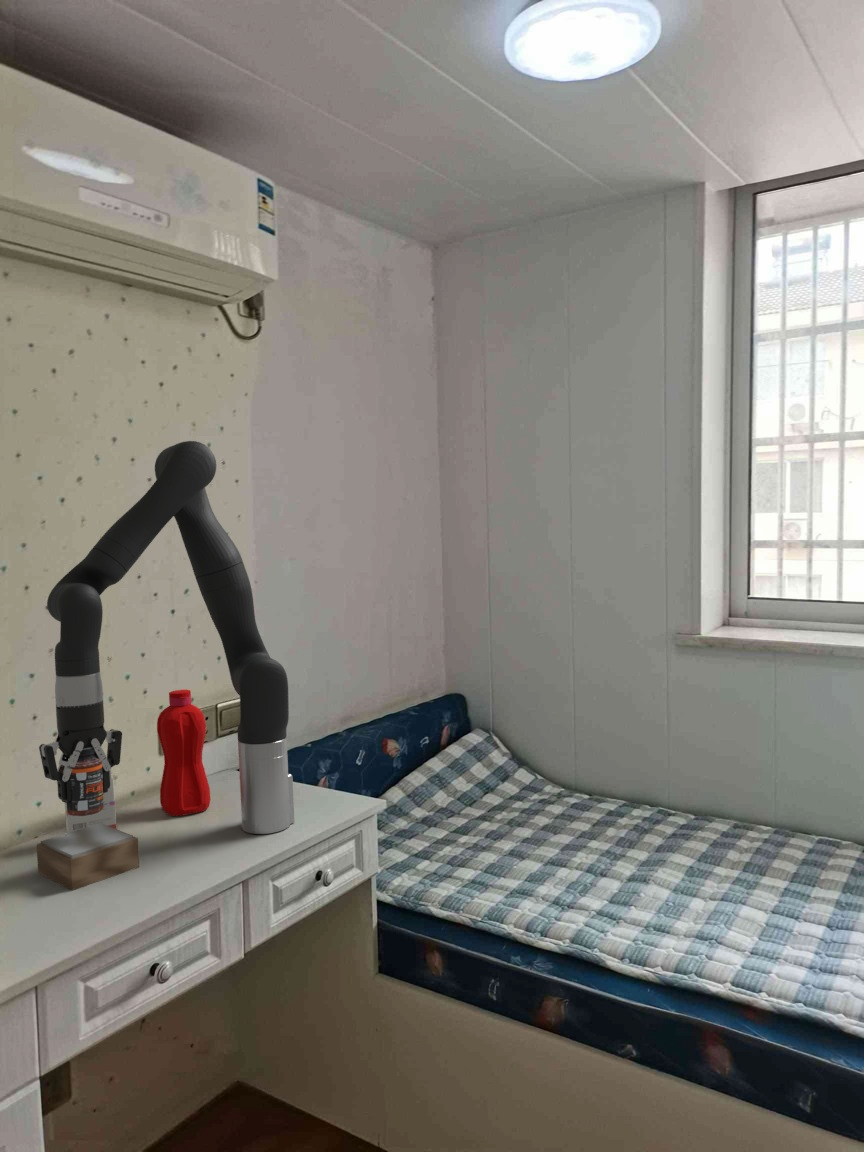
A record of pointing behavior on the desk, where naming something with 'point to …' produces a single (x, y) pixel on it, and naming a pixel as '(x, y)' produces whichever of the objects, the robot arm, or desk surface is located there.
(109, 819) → the ink cartridge box
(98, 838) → the wooden rimmed tray
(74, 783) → the supplement bottle
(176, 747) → the water bottle
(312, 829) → the desk surface
